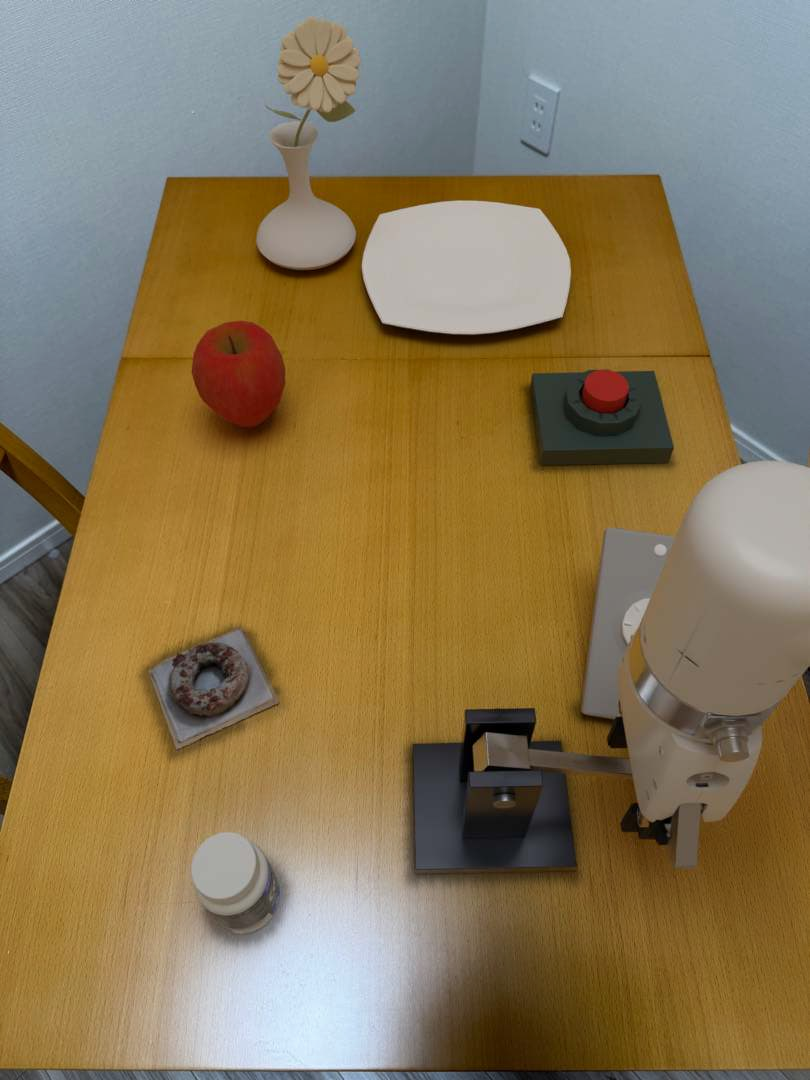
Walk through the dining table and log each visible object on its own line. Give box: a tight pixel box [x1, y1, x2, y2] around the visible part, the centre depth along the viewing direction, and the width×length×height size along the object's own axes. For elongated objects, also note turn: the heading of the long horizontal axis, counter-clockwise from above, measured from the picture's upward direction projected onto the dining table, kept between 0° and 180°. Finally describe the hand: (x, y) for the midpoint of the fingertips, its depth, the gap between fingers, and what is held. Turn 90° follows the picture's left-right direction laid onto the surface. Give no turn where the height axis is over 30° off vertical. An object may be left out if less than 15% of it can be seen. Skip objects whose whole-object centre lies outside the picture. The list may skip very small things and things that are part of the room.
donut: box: [147, 627, 280, 750], centre depth 67 cm, size 8×8×2 cm
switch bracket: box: [412, 707, 578, 875], centre depth 57 cm, size 11×9×12 cm
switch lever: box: [473, 732, 633, 781], centre depth 55 cm, size 12×5×2 cm, turn 91°
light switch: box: [580, 526, 676, 720], centre depth 67 cm, size 8×6×14 cm
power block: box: [529, 369, 675, 466], centre depth 81 cm, size 12×10×4 cm
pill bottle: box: [190, 831, 281, 935], centre depth 55 cm, size 5×5×8 cm
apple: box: [190, 320, 286, 429], centre depth 80 cm, size 9×8×11 cm
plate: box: [361, 200, 572, 336], centre depth 95 cm, size 23×23×2 cm
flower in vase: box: [255, 16, 361, 271], centre depth 89 cm, size 13×11×25 cm
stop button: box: [582, 369, 629, 414], centre depth 79 cm, size 4×4×2 cm
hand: (636, 783), depth 58 cm, fingers closed on switch lever, 5 cm apart
